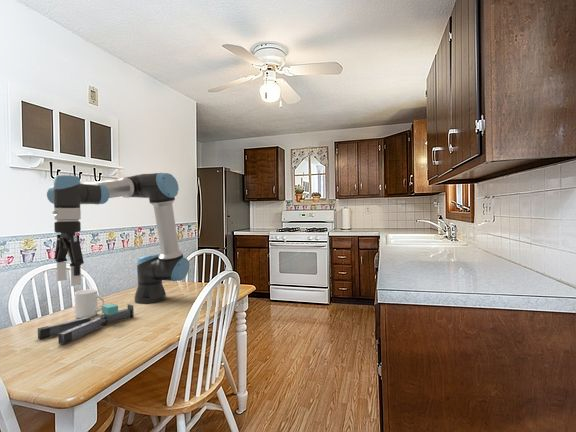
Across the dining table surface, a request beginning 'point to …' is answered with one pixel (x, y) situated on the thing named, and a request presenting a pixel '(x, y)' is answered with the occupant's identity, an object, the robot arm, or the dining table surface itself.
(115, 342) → the dining table surface
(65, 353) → the dining table surface
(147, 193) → the robot arm
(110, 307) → the tab
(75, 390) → the dining table surface
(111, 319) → the tongs body
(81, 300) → the mug
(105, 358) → the dining table surface
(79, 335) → the tongs jaw
